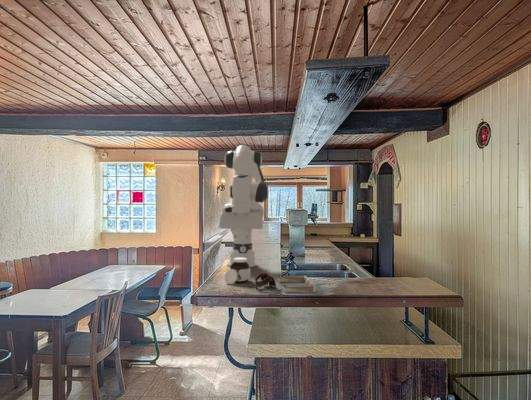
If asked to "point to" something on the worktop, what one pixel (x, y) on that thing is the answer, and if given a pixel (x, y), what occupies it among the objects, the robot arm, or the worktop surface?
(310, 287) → the wooden u-shaped frame
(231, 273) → the spread jar
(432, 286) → the worktop surface
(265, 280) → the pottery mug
